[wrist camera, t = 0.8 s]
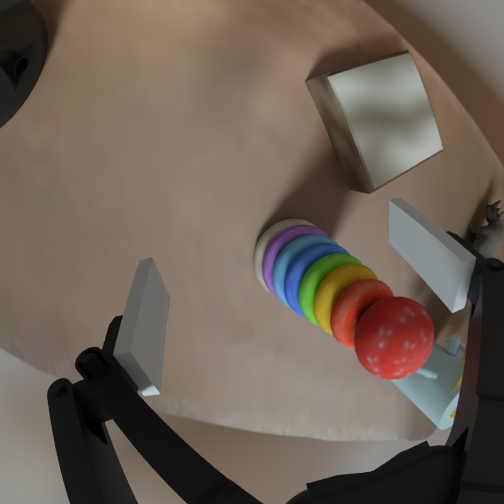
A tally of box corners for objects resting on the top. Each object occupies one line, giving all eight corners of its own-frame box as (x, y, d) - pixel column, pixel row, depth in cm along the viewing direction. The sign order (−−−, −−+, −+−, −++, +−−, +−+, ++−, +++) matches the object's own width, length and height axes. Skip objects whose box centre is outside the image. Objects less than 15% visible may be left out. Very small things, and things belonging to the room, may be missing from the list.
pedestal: (305, 81, 27) (324, 73, 23) (388, 55, 28) (410, 49, 25) (349, 189, 32) (372, 194, 28) (421, 149, 33) (445, 151, 29)
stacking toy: (260, 303, 33) (356, 435, 15) (241, 230, 30) (351, 333, 13) (328, 277, 34) (452, 374, 17) (316, 207, 31) (467, 269, 14)
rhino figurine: (491, 205, 40) (519, 213, 34) (455, 277, 41) (483, 291, 36) (482, 190, 38) (512, 197, 33) (445, 265, 40) (475, 279, 34)
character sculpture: (453, 338, 46) (506, 375, 34) (415, 390, 47) (461, 434, 35) (404, 292, 38) (478, 338, 26) (353, 361, 39) (412, 424, 27)
